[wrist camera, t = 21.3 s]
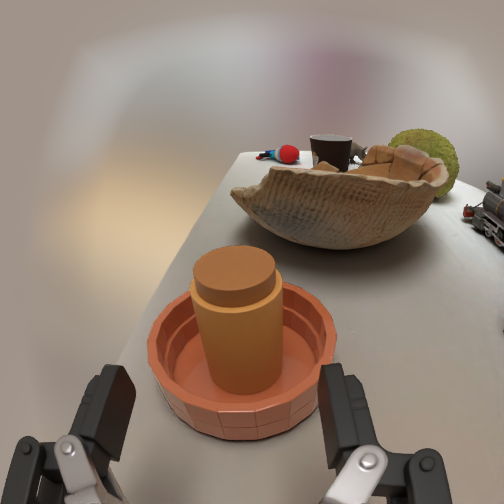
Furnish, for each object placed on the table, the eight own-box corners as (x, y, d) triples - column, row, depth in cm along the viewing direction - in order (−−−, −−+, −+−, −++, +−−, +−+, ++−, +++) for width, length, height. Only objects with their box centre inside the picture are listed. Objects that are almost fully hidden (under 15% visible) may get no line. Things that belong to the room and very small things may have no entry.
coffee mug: (351, 191, 56) (353, 142, 52) (308, 189, 59) (308, 139, 54) (349, 176, 66) (350, 133, 61) (312, 174, 68) (312, 132, 63)
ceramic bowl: (274, 180, 58) (284, 106, 50) (408, 219, 51) (431, 145, 43) (193, 263, 35) (193, 135, 27) (419, 336, 28) (485, 215, 20)
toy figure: (253, 164, 85) (287, 164, 73) (252, 147, 84) (286, 144, 72) (274, 162, 89) (309, 162, 77) (273, 146, 87) (307, 143, 75)
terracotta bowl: (149, 437, 17) (125, 405, 15) (179, 317, 28) (169, 279, 26) (341, 436, 17) (354, 403, 14) (315, 312, 28) (318, 272, 26)
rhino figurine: (370, 168, 72) (371, 146, 69) (323, 160, 80) (323, 139, 77) (374, 166, 75) (375, 144, 72) (330, 158, 83) (330, 138, 80)
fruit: (396, 206, 49) (374, 127, 49) (392, 207, 62) (374, 143, 62) (474, 190, 43) (451, 111, 42) (455, 194, 56) (437, 130, 55)
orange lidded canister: (205, 395, 20) (176, 296, 15) (213, 340, 25) (195, 244, 20) (284, 393, 20) (286, 292, 15) (280, 338, 24) (279, 240, 20)
